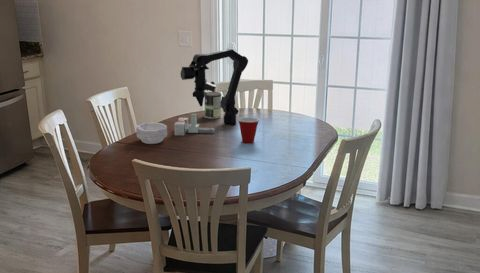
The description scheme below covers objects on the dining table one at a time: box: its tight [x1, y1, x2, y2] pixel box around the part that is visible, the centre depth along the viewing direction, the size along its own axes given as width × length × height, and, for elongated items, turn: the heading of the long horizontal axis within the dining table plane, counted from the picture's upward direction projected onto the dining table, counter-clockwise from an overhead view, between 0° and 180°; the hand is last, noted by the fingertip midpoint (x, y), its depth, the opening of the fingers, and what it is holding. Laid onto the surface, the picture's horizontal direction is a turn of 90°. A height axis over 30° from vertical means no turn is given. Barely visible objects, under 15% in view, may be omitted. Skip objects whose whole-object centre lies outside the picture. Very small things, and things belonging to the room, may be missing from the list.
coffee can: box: [203, 91, 222, 120], centre depth 295 cm, size 10×10×14 cm
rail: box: [186, 127, 215, 134], centre depth 263 cm, size 14×3×2 cm, turn 86°
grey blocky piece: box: [174, 117, 190, 136], centre depth 263 cm, size 5×14×6 cm, turn 176°
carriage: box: [188, 113, 200, 134], centre depth 262 cm, size 5×5×9 cm
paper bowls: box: [135, 122, 168, 145], centre depth 246 cm, size 15×15×8 cm
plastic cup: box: [237, 117, 260, 144], centre depth 247 cm, size 11×11×12 cm
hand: (201, 106), depth 270 cm, fingers closed
